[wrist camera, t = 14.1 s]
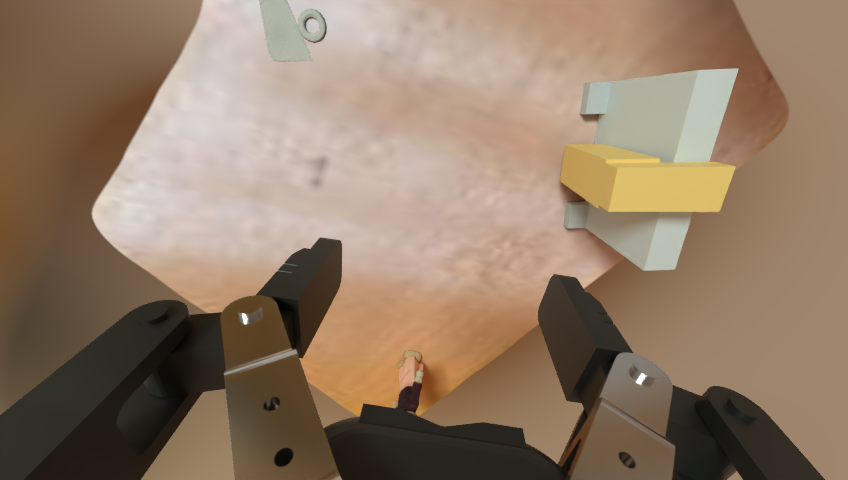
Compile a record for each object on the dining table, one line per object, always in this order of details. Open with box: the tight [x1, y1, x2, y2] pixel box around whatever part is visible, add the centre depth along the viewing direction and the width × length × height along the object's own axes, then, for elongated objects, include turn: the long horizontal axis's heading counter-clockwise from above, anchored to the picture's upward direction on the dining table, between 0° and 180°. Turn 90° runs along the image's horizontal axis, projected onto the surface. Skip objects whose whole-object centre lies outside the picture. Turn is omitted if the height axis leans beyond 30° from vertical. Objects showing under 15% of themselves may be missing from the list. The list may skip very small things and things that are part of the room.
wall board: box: [564, 68, 739, 271], centre depth 30 cm, size 16×7×12 cm, turn 2°
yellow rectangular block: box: [560, 144, 736, 212], centre depth 29 cm, size 4×8×12 cm, turn 92°
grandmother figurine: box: [393, 351, 424, 416], centre depth 42 cm, size 8×4×13 cm, turn 162°
